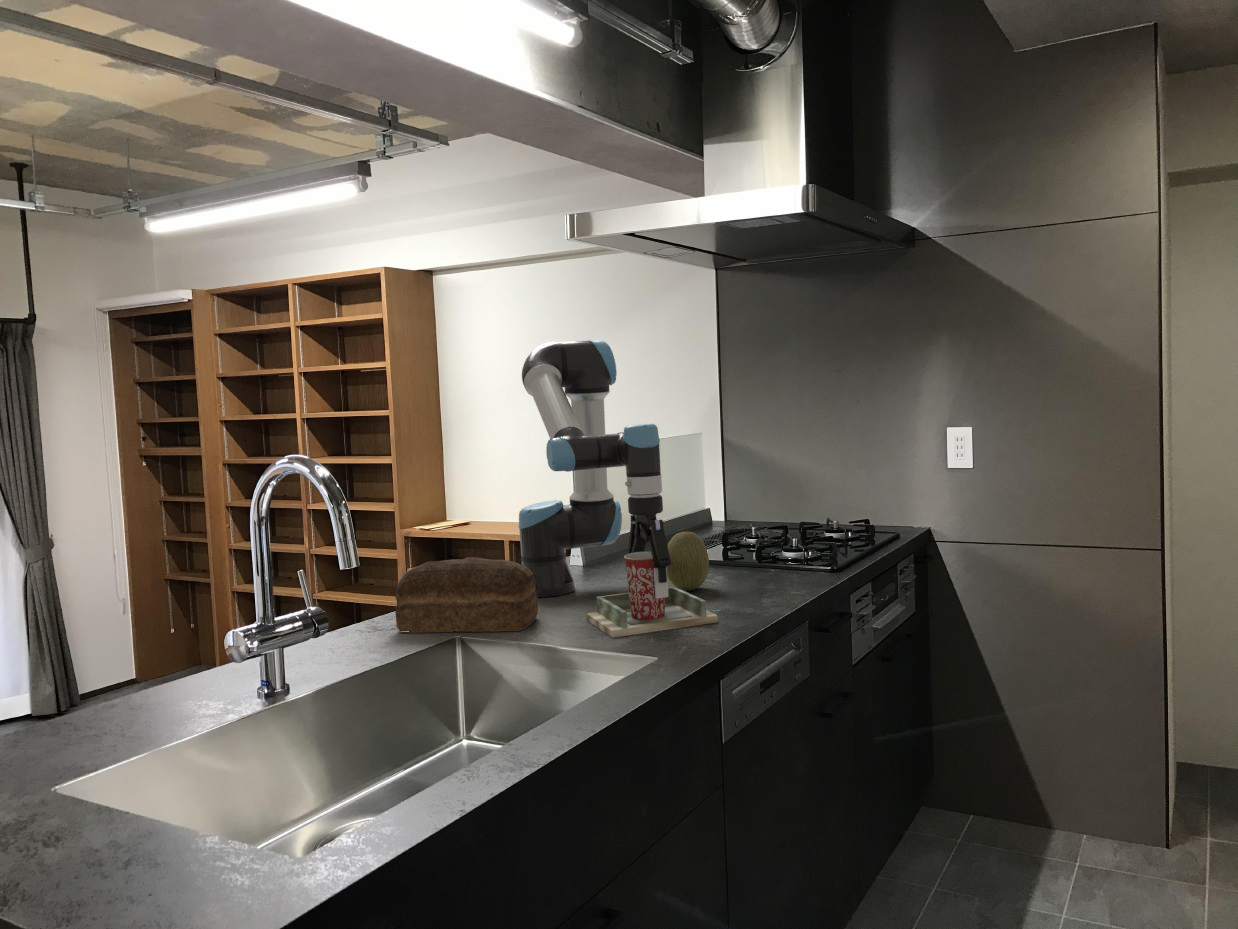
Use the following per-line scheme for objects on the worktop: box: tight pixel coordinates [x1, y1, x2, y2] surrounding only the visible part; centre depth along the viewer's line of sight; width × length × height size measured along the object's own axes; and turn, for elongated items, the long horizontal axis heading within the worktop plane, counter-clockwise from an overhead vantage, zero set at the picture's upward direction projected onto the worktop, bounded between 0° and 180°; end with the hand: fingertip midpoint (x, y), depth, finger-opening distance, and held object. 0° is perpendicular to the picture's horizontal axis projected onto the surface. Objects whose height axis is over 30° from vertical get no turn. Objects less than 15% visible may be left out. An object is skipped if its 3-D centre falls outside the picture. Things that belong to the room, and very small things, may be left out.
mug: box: [623, 551, 665, 620], centre depth 208 cm, size 13×9×14 cm
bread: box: [394, 556, 539, 633], centre depth 216 cm, size 15×32×16 cm, turn 79°
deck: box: [586, 586, 719, 638], centre depth 209 cm, size 18×24×5 cm
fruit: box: [667, 530, 710, 592], centre depth 240 cm, size 11×11×15 cm
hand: (650, 591), depth 208 cm, fingers open, 13 cm apart
